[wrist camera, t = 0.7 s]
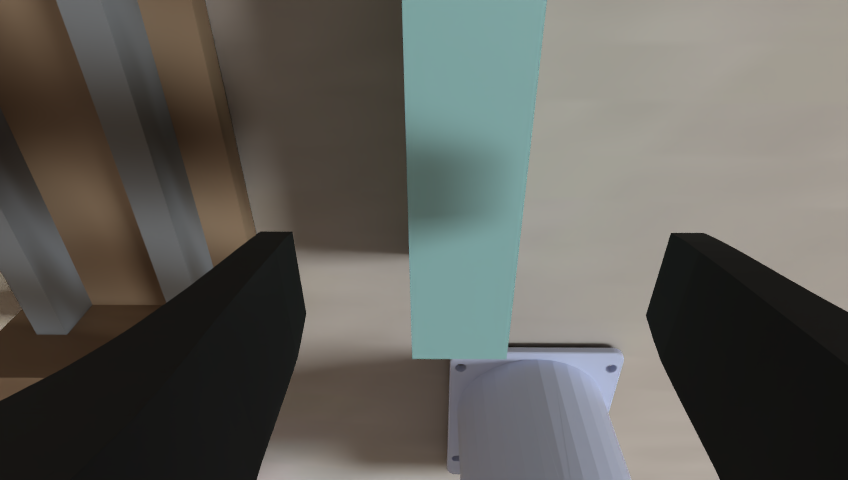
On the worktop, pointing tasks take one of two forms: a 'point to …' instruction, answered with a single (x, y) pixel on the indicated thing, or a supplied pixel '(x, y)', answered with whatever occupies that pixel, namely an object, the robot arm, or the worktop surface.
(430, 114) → the long teal rectangular block
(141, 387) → the robot arm
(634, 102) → the worktop surface
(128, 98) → the track board
